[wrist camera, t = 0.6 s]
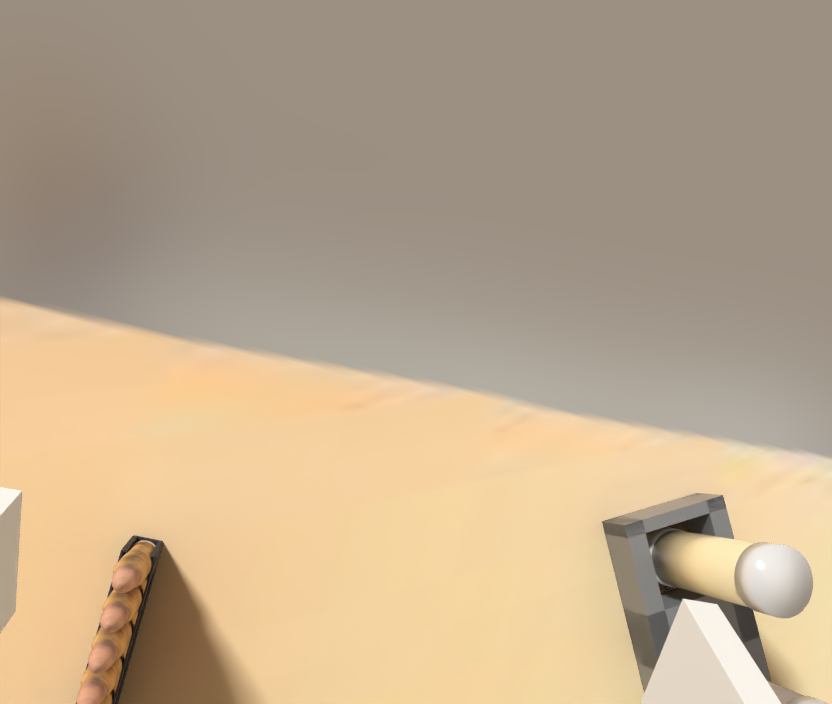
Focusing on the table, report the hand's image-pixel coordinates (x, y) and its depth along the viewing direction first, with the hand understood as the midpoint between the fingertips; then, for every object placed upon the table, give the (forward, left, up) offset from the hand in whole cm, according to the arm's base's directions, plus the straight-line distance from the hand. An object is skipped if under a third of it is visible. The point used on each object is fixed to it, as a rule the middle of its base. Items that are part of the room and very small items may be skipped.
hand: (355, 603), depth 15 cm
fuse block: (-15, -27, -34) cm, 46 cm away
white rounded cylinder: (-11, -27, -34) cm, 44 cm away
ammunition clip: (-5, +9, -34) cm, 36 cm away
